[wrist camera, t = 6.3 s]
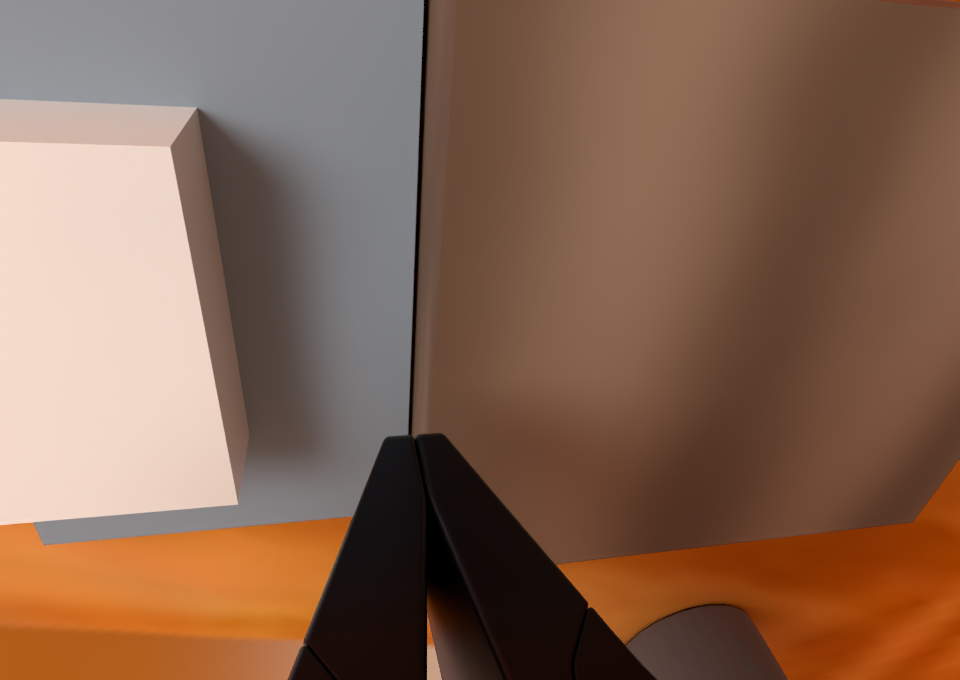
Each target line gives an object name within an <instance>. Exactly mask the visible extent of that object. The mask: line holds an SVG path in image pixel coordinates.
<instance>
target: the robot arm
mask: <svg viewBox="0 0 960 680" xmlns="http://www.w3.org/2000/svg"><path fill="white" fill-rule="evenodd" d="M587 608H588V602H587V601H586V600H585V599H584V597H583V596H582V595H581V594H580V593H579V592H578V590H577V589H576V588H575V587H574V586H573V585H572V583H571V582H570V581H569V580H568V579H567V577H566V576H565V575H564V574H563V573H562V572H561V570H560V569H559V568H558V567H557V566H556V565H555V563H554V562H553V561H552V560H551V559H550V558H549V556H548V555H547V554H546V553H545V552H544V551H543V549H542V548H541V547H540V546H539V545H538V543H537V542H536V541H535V540H534V539H533V538H532V536H531V535H530V534H529V533H528V532H527V531H526V529H525V528H524V527H523V526H522V525H521V524H520V522H519V521H518V520H517V519H516V518H515V516H514V515H513V514H512V513H511V512H510V511H509V509H508V508H507V507H506V506H505V505H504V504H503V502H502V501H501V500H500V499H499V498H498V497H497V495H496V494H495V493H494V492H493V491H492V489H491V488H490V487H489V486H488V485H487V484H486V482H485V481H484V480H483V479H482V478H481V477H480V475H479V474H478V473H477V472H476V471H475V470H474V468H473V467H472V466H471V465H470V464H469V463H468V461H467V460H466V459H465V458H464V457H463V455H462V454H461V453H460V452H459V451H458V450H457V448H456V447H455V446H454V445H453V444H452V443H451V441H450V440H449V439H448V438H447V437H446V436H445V435H444V434H442V433H428V434H418V435H417V436H416V437H415V439H414V437H413V436H411V435H398V436H387V437H386V438H385V439H384V440H383V443H382V445H381V448H380V450H379V453H378V455H377V458H376V460H375V463H374V465H373V468H372V470H371V473H370V475H369V478H368V480H367V483H366V485H365V488H364V490H363V493H362V495H361V498H360V500H359V503H358V505H357V508H356V510H355V513H354V515H353V518H352V520H351V523H350V525H349V528H348V530H347V533H346V536H345V538H344V541H343V543H342V546H341V548H340V551H339V553H338V556H337V558H336V561H335V563H334V566H333V568H332V571H331V573H330V576H329V578H328V581H327V583H326V586H325V588H324V591H323V593H322V596H321V598H320V601H319V603H318V606H317V608H316V611H315V613H314V616H313V618H312V621H311V623H310V626H309V628H308V631H307V634H306V636H305V639H304V642H303V644H304V646H303V647H301V648H300V650H299V653H298V655H297V658H296V660H295V663H294V665H293V668H292V670H291V673H290V675H289V678H288V680H427V613H428V618H429V622H430V627H431V631H432V636H433V641H434V645H435V650H436V654H437V659H438V663H439V668H440V672H441V677H442V680H657V679H656V678H655V677H654V676H653V675H652V674H651V673H650V672H649V671H648V670H647V669H646V668H645V667H644V666H643V665H642V664H641V662H640V661H639V660H638V659H637V658H636V657H635V656H634V655H633V654H632V652H631V651H630V650H629V649H628V648H627V647H626V646H625V645H624V644H623V642H622V641H621V640H620V639H619V638H618V637H617V636H616V635H615V633H614V632H613V631H612V630H611V629H610V628H609V627H608V625H607V624H606V623H605V622H604V621H603V619H602V618H601V617H600V616H599V615H598V614H597V612H596V611H595V610H594V609H593V608H588V609H587Z"/></svg>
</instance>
